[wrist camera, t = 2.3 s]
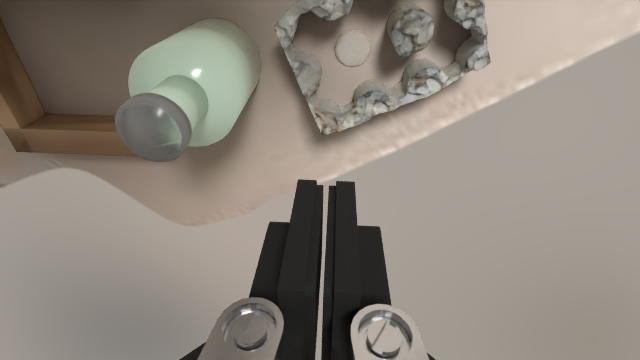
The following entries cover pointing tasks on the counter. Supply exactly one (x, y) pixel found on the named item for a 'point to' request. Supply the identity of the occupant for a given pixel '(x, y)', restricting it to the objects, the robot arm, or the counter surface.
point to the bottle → (188, 89)
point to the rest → (48, 117)
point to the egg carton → (355, 46)
